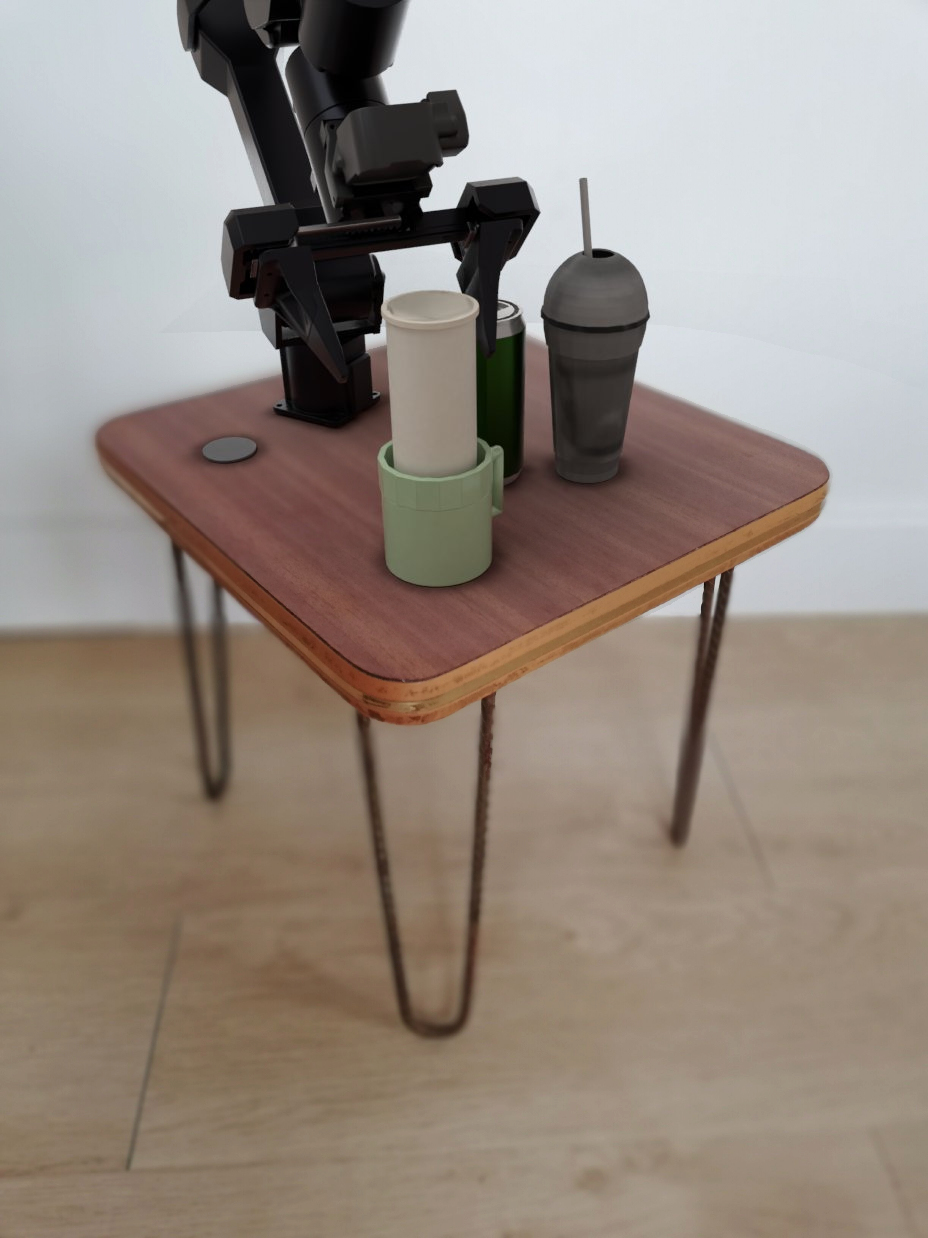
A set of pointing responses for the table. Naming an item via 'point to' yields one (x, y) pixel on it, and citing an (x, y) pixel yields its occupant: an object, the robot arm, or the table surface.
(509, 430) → the beer can
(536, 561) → the table surface
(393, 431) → the paper cup
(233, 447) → the coaster
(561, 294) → the beverage cup
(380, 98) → the robot arm
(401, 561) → the mug
